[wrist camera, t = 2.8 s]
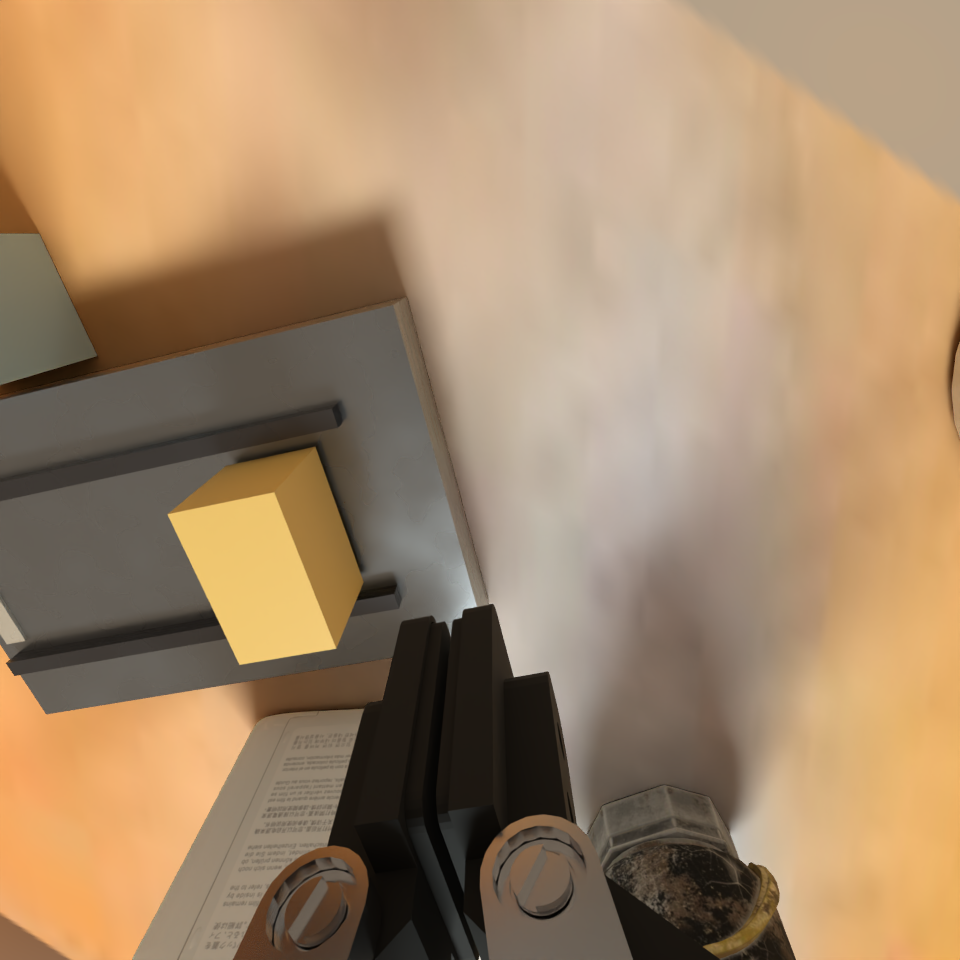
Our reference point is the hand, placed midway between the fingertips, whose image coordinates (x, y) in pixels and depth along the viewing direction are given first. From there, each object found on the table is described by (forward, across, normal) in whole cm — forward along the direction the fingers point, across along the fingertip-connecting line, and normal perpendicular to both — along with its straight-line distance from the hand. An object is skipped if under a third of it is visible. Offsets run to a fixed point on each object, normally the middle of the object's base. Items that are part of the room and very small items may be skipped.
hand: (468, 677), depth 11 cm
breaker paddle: (+9, +6, 0) cm, 11 cm away
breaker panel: (+12, +10, 0) cm, 15 cm away
